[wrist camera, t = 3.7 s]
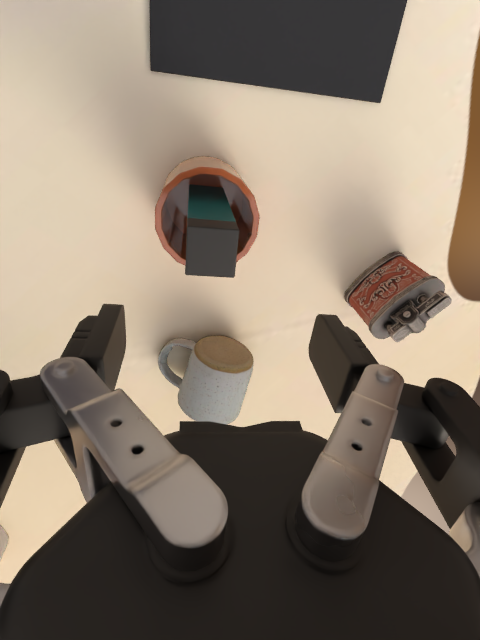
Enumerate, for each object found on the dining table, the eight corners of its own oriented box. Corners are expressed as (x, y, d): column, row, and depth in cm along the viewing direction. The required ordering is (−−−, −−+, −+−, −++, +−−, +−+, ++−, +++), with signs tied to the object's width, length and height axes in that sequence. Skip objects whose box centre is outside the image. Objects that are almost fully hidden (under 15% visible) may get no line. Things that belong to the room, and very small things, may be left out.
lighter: (354, 310, 43) (394, 359, 34) (338, 293, 42) (376, 341, 33) (410, 264, 41) (468, 305, 32) (395, 244, 39) (452, 282, 31)
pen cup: (162, 239, 36) (155, 267, 30) (162, 151, 32) (154, 161, 25) (241, 245, 37) (251, 273, 31) (251, 160, 33) (265, 173, 27)
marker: (187, 218, 35) (185, 275, 23) (189, 184, 33) (186, 225, 21) (220, 221, 35) (234, 278, 23) (223, 187, 34) (239, 230, 22)
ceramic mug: (252, 336, 43) (262, 376, 37) (236, 387, 47) (241, 432, 40) (165, 321, 41) (158, 361, 34) (155, 376, 45) (147, 421, 38)
